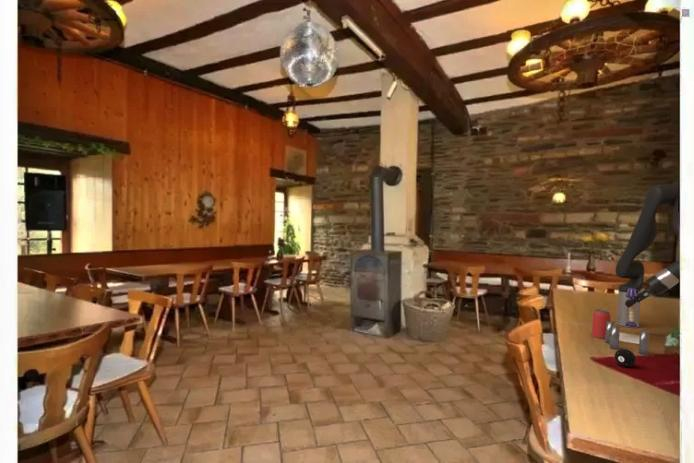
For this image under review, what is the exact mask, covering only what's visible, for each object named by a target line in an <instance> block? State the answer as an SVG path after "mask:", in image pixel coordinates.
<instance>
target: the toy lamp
mask: <svg viewBox="0 0 694 463" xmlns="http://www.w3.org/2000/svg"><path fill="white" fill-rule="evenodd" d="M637 293H638V292H637V289H634V288H629V289H628V291H627V294H626V297H628V298H630V300H631V299H632V298H633V297H635V296H636V294H637ZM637 298H639V297H637ZM629 311H630V312H629V314H630V315H629V318H630V319H629V322H627V323H626V324H625V325H626V326H629V327H628V328H633V327H637V325H636V323H634V305H632V306H631V307H630V308H629ZM637 328H638V327H637Z"/></svg>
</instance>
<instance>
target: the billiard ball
mask: <svg viewBox="0 0 694 463" xmlns="http://www.w3.org/2000/svg"><path fill="white" fill-rule="evenodd" d="M614 360H615V362H616V363H617V364H618V365H620V366H621V365H622V367H625V366H627V367H628V368H629V367H633V365H635V363H636V354H635V353H633V351H631V350H629V349H626V348H620V349H618V350H615V353H614ZM627 367H626V368H627Z"/></svg>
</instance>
